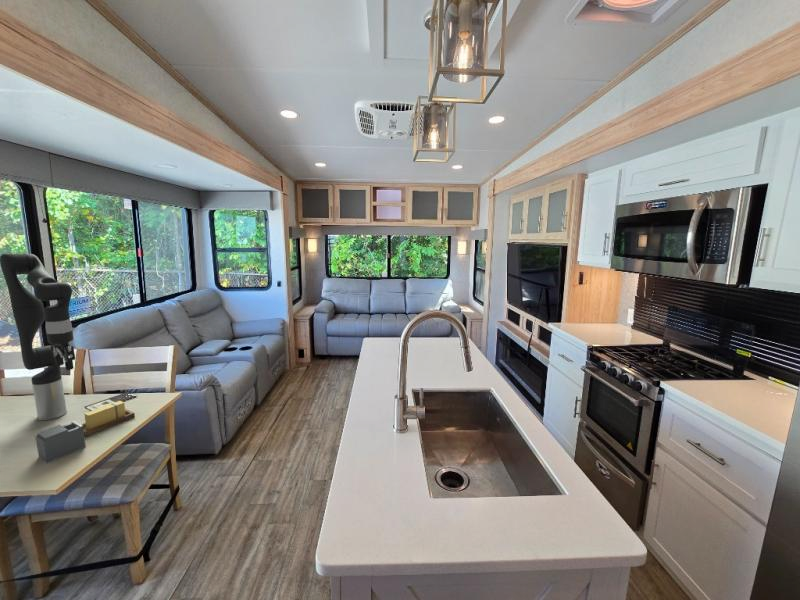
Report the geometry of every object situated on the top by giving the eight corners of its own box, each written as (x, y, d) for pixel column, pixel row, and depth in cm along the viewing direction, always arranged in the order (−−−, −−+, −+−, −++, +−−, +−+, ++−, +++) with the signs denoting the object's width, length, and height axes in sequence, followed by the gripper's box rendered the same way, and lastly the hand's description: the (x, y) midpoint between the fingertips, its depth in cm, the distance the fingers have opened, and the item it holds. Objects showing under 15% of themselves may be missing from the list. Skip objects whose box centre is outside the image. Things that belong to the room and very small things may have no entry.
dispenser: (38, 457, 124) (34, 433, 123) (77, 441, 134) (74, 419, 133) (47, 463, 122) (43, 439, 120) (85, 446, 132) (82, 424, 130)
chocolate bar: (137, 395, 172) (94, 411, 156) (137, 397, 172) (94, 413, 156) (127, 391, 175) (84, 406, 159) (127, 393, 176) (84, 408, 160)
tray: (75, 431, 141) (74, 426, 140) (124, 412, 157) (124, 408, 157) (85, 437, 137) (84, 432, 137) (134, 417, 153) (134, 412, 153)
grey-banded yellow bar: (86, 428, 142) (84, 413, 141) (121, 414, 154) (120, 400, 152) (90, 430, 141) (88, 415, 139) (125, 416, 152) (124, 402, 151)
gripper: (39, 329, 135) (44, 366, 138) (55, 335, 129) (60, 374, 132) (63, 325, 142) (68, 361, 145) (79, 331, 136) (84, 367, 139)
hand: (64, 367), depth 138 cm, fingers open, 8 cm apart
